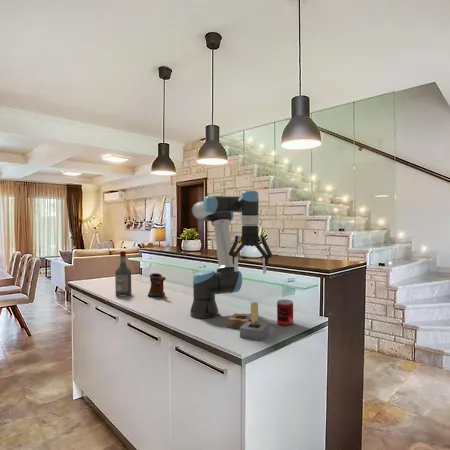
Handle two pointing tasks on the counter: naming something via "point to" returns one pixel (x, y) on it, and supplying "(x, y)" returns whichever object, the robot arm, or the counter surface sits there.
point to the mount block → (238, 320)
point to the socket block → (254, 331)
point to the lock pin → (254, 315)
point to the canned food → (285, 312)
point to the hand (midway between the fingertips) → (250, 272)
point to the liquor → (123, 277)
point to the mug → (156, 286)
